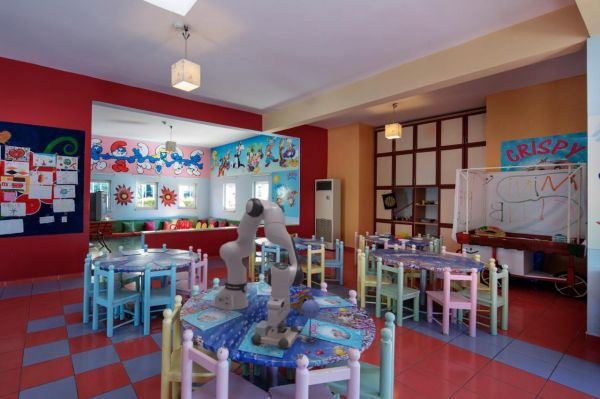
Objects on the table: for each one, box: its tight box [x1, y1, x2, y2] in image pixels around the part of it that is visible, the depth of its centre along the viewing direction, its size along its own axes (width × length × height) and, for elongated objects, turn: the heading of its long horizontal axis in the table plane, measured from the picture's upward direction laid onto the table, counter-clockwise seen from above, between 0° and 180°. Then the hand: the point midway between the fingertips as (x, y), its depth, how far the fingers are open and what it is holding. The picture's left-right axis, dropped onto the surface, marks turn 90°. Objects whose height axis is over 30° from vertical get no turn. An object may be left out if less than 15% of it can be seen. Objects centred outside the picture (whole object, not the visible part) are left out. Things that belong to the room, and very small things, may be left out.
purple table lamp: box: [301, 299, 321, 341], centre depth 146 cm, size 9×9×18 cm
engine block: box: [277, 322, 287, 333], centre depth 144 cm, size 5×4×6 cm
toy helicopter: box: [290, 288, 315, 316], centre depth 175 cm, size 8×21×14 cm, turn 121°
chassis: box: [250, 319, 299, 350], centre depth 145 cm, size 18×16×6 cm
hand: (279, 328), depth 144 cm, fingers open, 8 cm apart
